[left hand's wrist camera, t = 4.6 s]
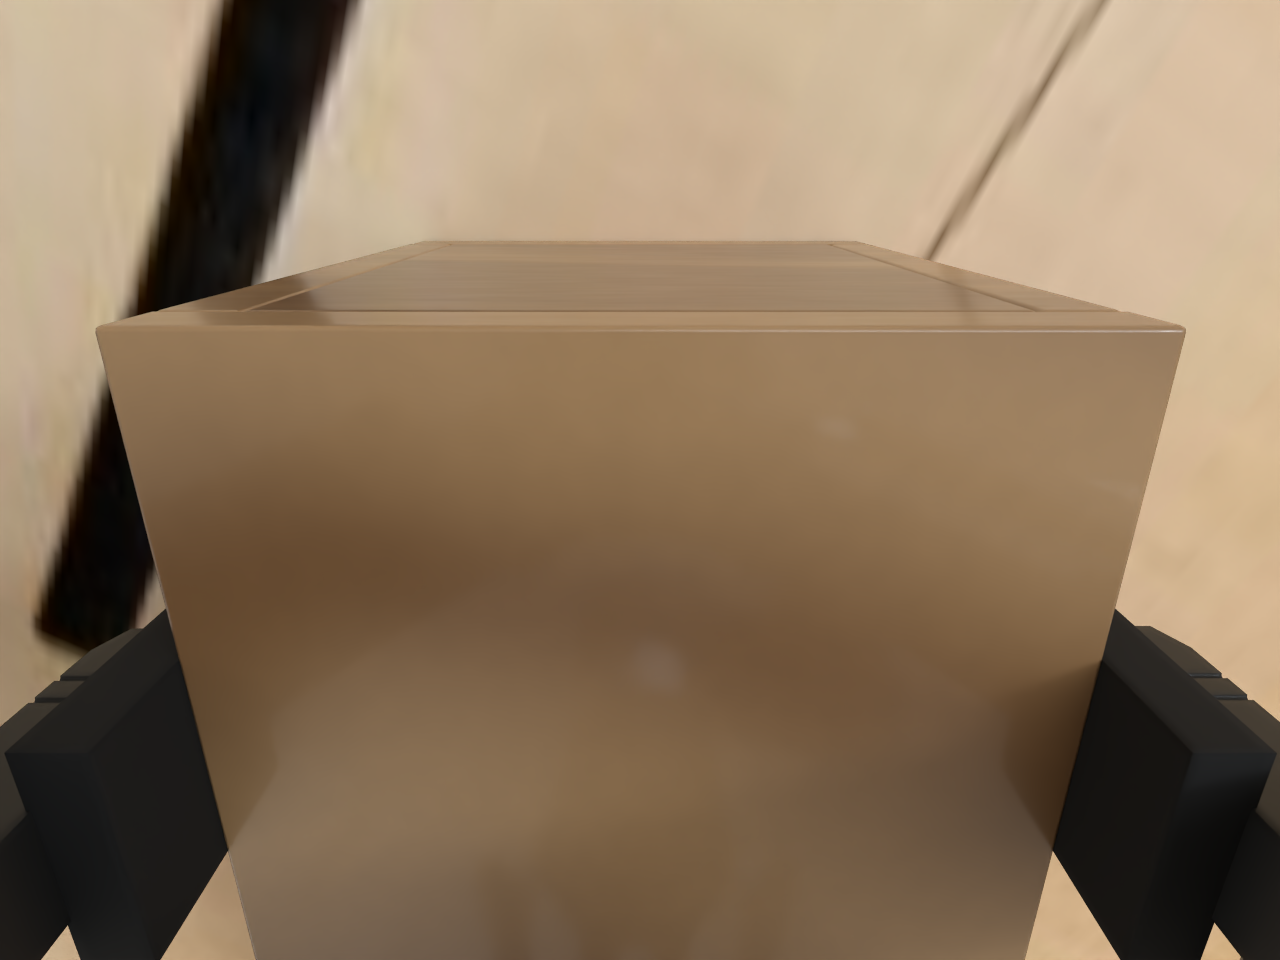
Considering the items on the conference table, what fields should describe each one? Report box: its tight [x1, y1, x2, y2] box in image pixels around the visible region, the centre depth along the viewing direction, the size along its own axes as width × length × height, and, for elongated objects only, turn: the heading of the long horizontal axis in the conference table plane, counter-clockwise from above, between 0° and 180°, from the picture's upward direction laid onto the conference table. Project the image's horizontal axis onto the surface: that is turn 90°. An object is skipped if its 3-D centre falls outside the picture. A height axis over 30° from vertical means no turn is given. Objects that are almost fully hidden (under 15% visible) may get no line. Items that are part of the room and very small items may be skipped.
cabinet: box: [96, 241, 1186, 960], centre depth 16 cm, size 20×10×11 cm, turn 0°
